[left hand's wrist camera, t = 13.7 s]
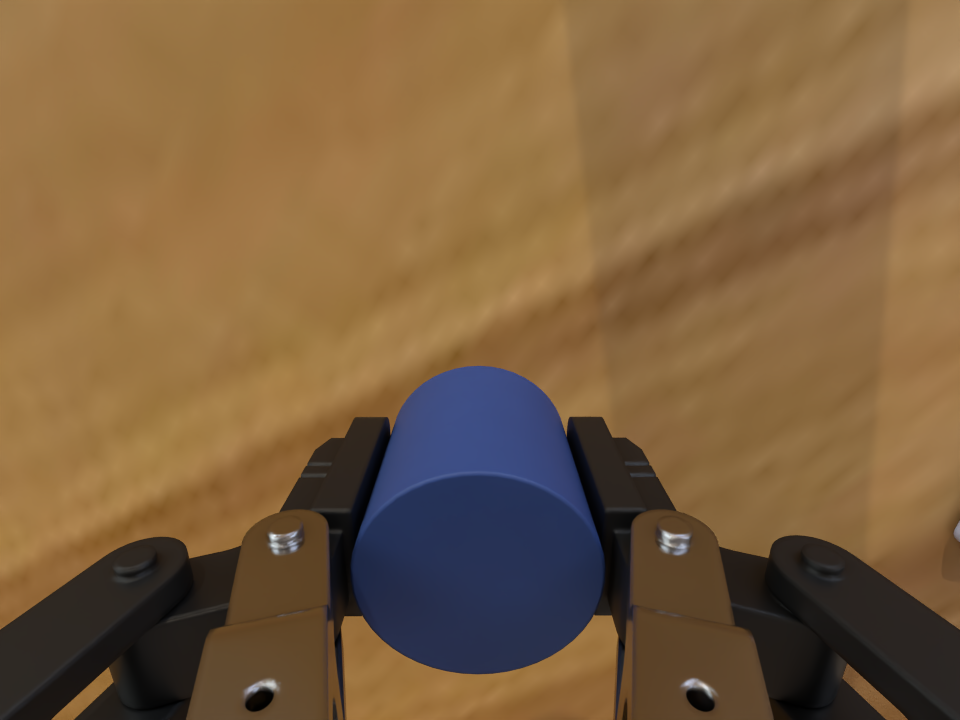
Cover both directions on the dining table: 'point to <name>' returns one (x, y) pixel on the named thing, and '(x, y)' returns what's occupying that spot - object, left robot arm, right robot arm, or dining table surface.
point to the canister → (478, 529)
